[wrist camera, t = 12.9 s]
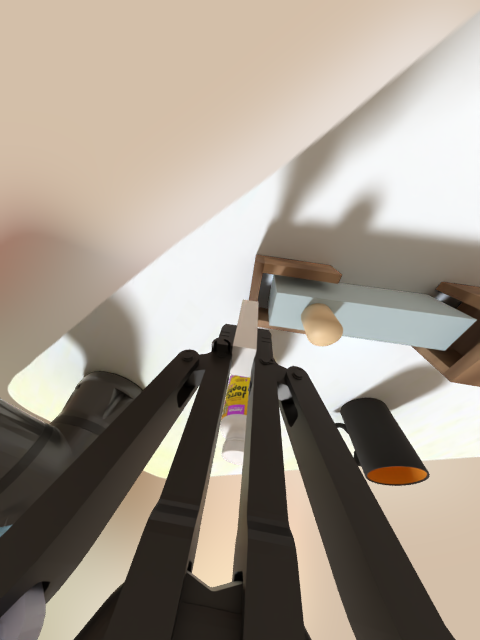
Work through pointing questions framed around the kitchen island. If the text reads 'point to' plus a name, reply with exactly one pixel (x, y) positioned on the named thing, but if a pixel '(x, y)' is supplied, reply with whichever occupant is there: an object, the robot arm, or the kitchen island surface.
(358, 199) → the kitchen island surface
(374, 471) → the mug
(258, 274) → the brown wooden u-shaped frame
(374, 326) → the slat
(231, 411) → the supplement bottle
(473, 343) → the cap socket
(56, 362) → the kitchen island surface
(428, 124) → the kitchen island surface
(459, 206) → the kitchen island surface
